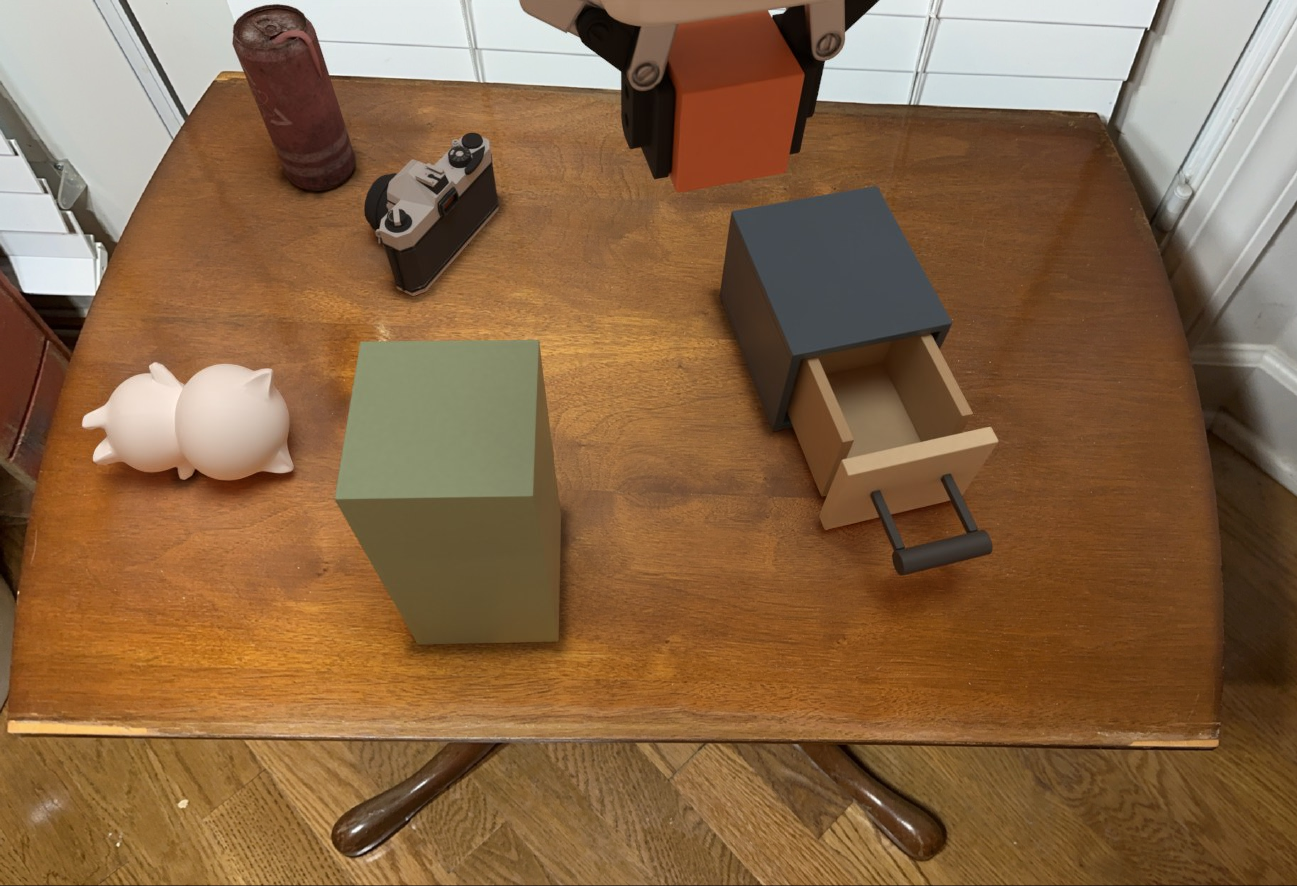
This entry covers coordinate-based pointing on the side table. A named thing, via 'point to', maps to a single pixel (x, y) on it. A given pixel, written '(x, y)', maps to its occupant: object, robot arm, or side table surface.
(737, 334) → the cabinet
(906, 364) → the drawer
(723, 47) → the block
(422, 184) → the camera
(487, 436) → the stand
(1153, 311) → the side table surface
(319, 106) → the can
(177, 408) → the cat figurine
